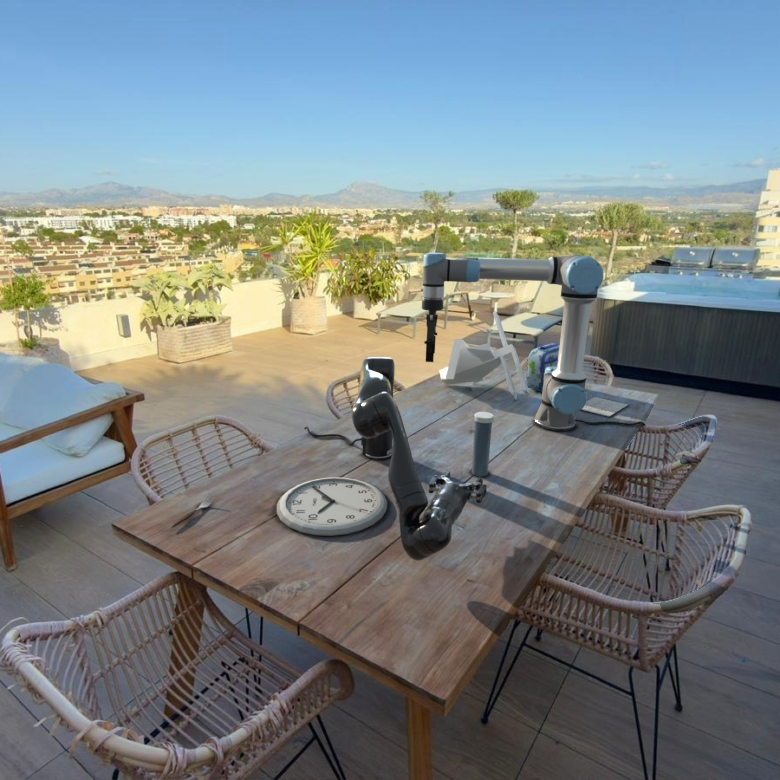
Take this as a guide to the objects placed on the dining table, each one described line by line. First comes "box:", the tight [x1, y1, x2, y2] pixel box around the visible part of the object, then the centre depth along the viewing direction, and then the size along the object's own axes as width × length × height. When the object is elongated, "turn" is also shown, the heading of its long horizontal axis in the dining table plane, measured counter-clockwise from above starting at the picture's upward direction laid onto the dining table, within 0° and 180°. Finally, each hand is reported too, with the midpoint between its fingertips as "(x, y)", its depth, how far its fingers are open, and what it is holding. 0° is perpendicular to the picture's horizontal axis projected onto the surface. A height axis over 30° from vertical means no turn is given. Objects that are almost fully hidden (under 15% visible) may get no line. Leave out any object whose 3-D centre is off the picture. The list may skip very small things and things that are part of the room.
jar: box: [471, 420, 493, 478], centre depth 160 cm, size 5×5×19 cm
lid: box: [473, 411, 495, 423], centre depth 158 cm, size 6×6×2 cm
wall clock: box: [276, 476, 388, 537], centre depth 142 cm, size 30×2×30 cm
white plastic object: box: [438, 310, 531, 400], centre depth 245 cm, size 37×45×31 cm
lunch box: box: [525, 343, 560, 393], centre depth 249 cm, size 26×11×21 cm, turn 134°
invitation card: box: [580, 396, 629, 418], centre depth 226 cm, size 21×1×15 cm
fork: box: [171, 493, 217, 529], centre depth 137 cm, size 3×16×2 cm, turn 160°
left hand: (464, 477), depth 142 cm, fingers open, 8 cm apart
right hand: (430, 357), depth 190 cm, fingers open, 13 cm apart
